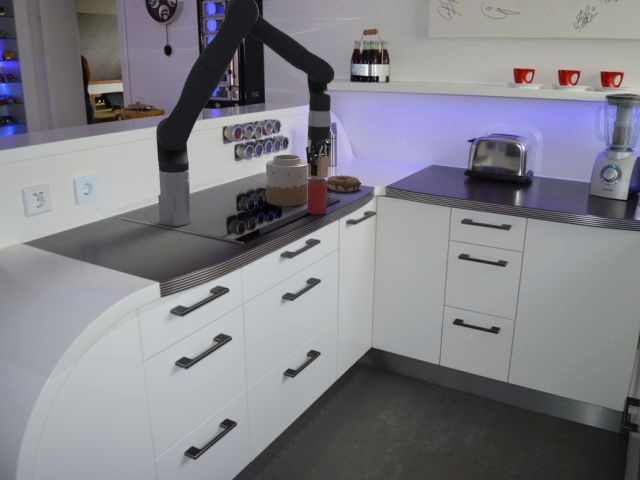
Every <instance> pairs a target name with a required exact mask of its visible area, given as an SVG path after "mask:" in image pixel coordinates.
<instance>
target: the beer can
mask: <svg viewBox="0 0 640 480" xmlns="http://www.w3.org/2000/svg"><path fill="white" fill-rule="evenodd" d="M326 182H327V179H326V178H323V179H316V178H309V182H308V183H307V212H308V214H310V215H313V216H322V215H324V214H326V213H327V201H328V199H327V198H328V187H327V183H326Z"/></svg>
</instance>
